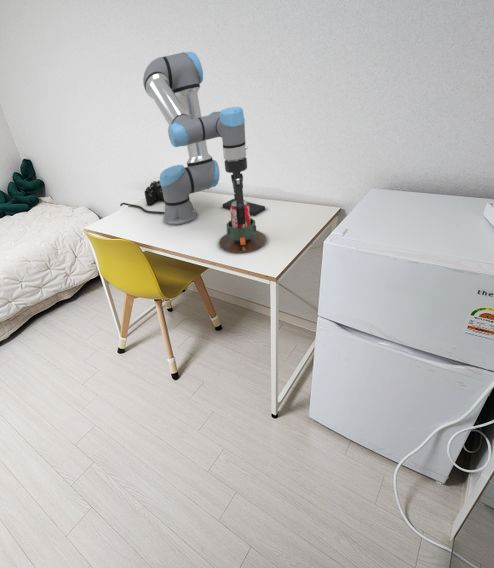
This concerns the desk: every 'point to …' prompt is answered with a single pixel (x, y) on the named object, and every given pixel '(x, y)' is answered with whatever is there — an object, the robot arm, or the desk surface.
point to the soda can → (234, 215)
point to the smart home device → (253, 207)
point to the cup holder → (241, 232)
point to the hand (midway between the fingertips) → (240, 216)
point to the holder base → (249, 246)
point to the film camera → (154, 193)
